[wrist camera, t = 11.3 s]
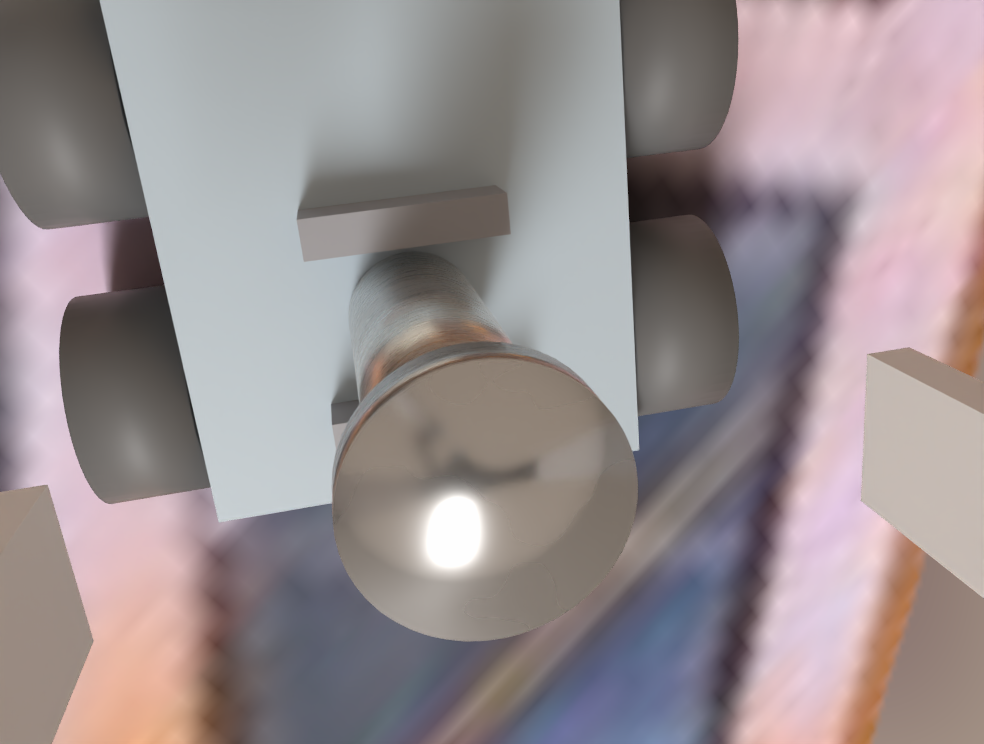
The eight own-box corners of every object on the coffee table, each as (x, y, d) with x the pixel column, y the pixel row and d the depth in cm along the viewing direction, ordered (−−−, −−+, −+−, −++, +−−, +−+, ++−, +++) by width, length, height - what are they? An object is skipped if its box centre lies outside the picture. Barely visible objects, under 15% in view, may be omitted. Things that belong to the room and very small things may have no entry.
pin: (311, 240, 22) (308, 388, 12) (490, 217, 23) (631, 339, 13) (339, 409, 24) (357, 666, 14) (506, 383, 25) (643, 610, 14)
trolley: (24, -6, 25) (-90, -33, 18) (667, -62, 27) (787, -105, 20) (141, 452, 29) (87, 572, 22) (678, 366, 32) (779, 450, 25)
